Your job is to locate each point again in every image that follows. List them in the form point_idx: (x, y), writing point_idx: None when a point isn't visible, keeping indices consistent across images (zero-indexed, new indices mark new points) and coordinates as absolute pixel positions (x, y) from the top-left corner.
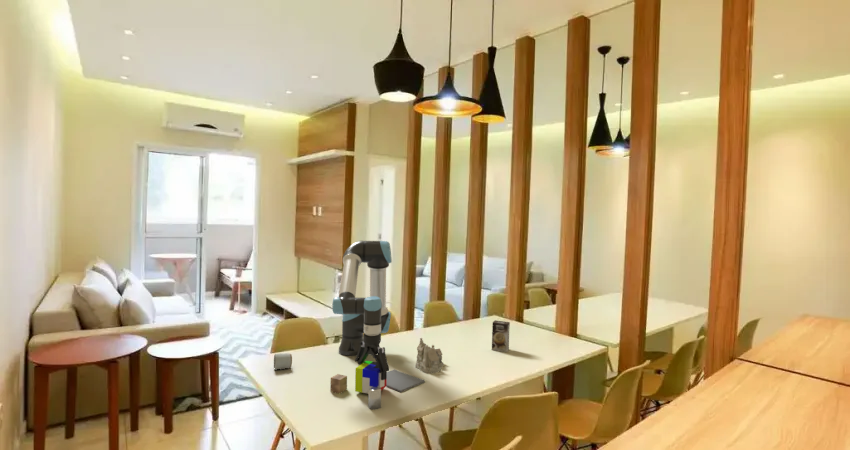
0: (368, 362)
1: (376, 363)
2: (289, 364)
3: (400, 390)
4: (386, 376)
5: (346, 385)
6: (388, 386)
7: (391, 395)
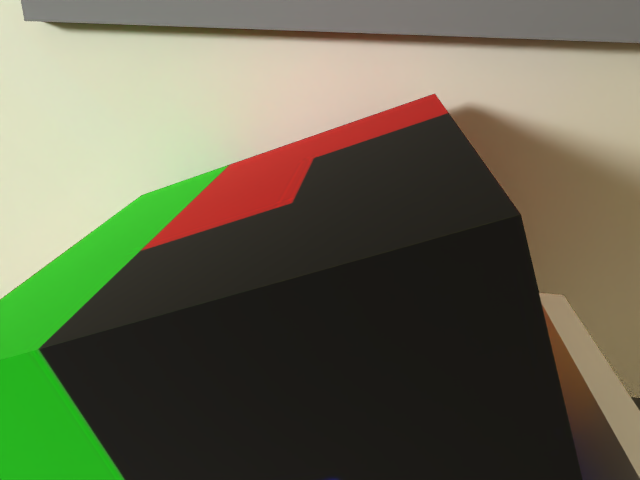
0: (31, 458)
1: (241, 404)
2: None
3: None
4: (455, 123)
5: None
6: (431, 35)
7: (624, 202)
